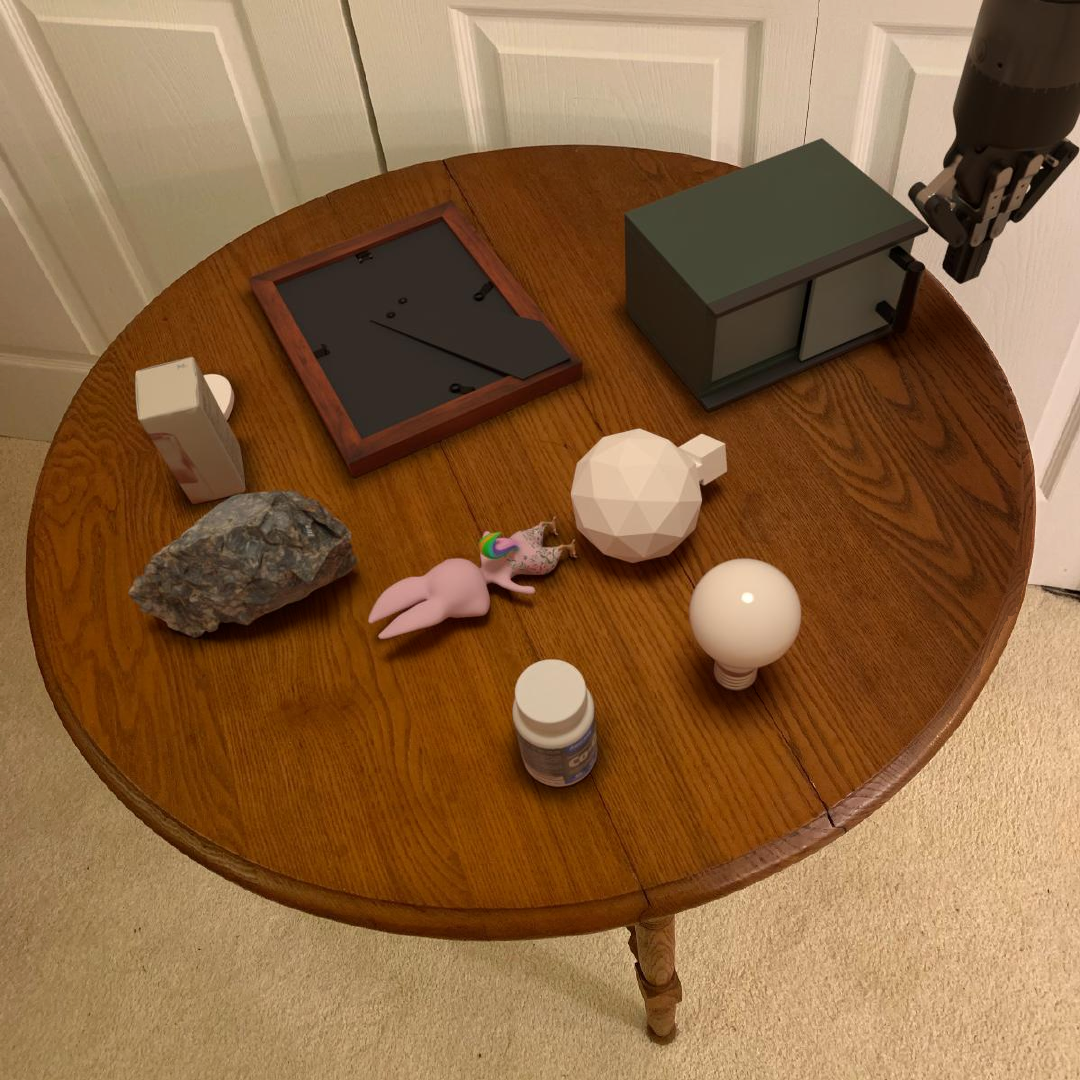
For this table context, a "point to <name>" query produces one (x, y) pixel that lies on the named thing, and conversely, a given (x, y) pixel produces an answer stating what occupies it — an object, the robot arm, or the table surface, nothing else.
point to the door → (862, 299)
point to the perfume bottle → (643, 492)
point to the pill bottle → (555, 723)
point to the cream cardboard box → (189, 430)
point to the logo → (221, 392)
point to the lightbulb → (744, 618)
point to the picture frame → (411, 335)
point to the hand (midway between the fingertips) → (960, 274)
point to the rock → (244, 562)
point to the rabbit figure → (467, 581)
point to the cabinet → (753, 266)
